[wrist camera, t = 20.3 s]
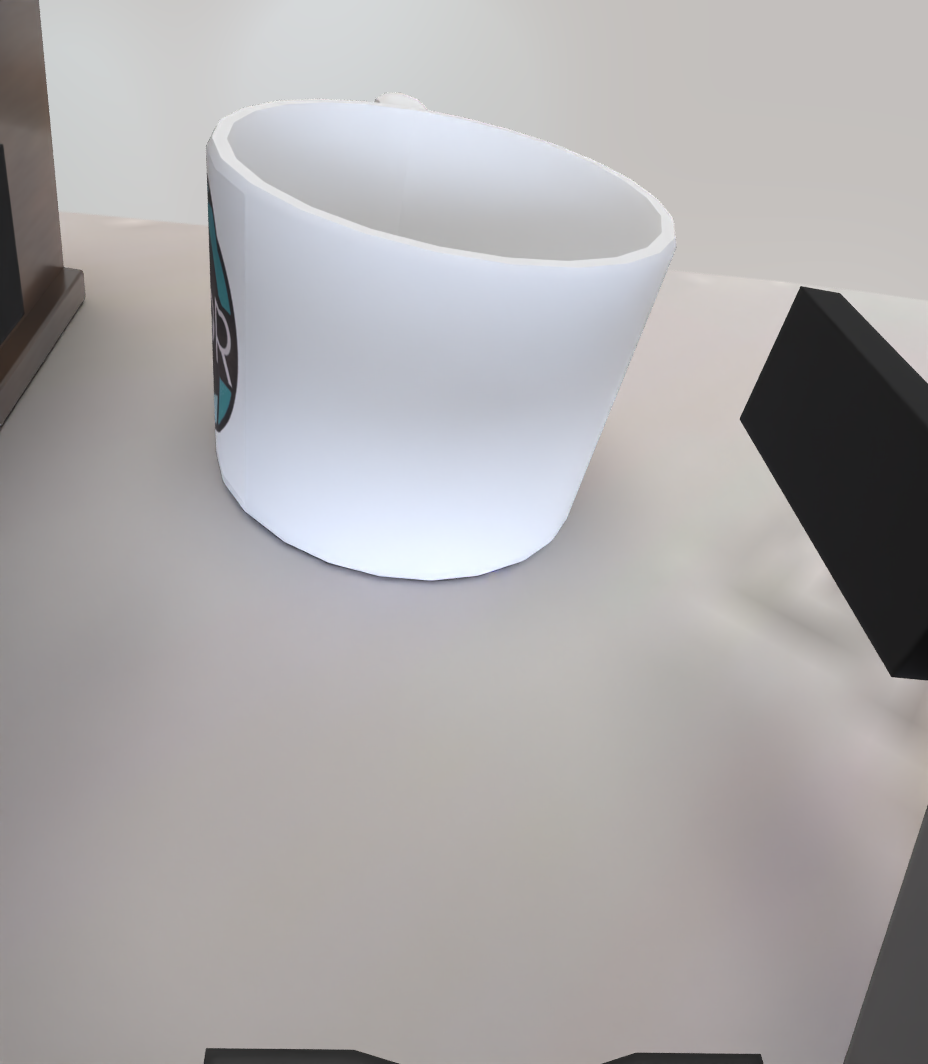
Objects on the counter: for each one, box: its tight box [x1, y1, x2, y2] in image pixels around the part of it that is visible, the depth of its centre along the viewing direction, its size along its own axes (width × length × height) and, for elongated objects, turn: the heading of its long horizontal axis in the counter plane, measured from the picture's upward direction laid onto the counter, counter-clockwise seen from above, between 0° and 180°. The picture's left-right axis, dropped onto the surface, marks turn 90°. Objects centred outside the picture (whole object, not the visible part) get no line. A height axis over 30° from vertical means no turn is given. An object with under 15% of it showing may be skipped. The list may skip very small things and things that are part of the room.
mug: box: [206, 93, 676, 581], centre depth 23 cm, size 13×10×8 cm
